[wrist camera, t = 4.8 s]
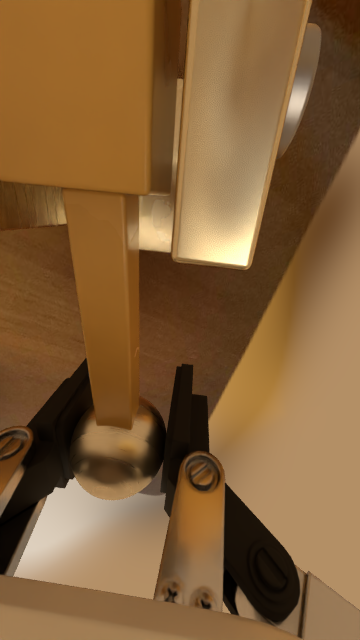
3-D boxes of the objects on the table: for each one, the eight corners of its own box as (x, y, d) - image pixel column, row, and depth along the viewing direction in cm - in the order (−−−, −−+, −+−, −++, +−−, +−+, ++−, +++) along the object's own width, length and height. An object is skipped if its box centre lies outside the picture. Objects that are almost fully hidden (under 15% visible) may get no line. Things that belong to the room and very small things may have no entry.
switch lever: (169, 433, 10) (156, 526, 7) (98, 424, 10) (58, 511, 7) (211, 24, 4) (231, -340, 1) (40, 10, 4) (-280, -356, 1)
